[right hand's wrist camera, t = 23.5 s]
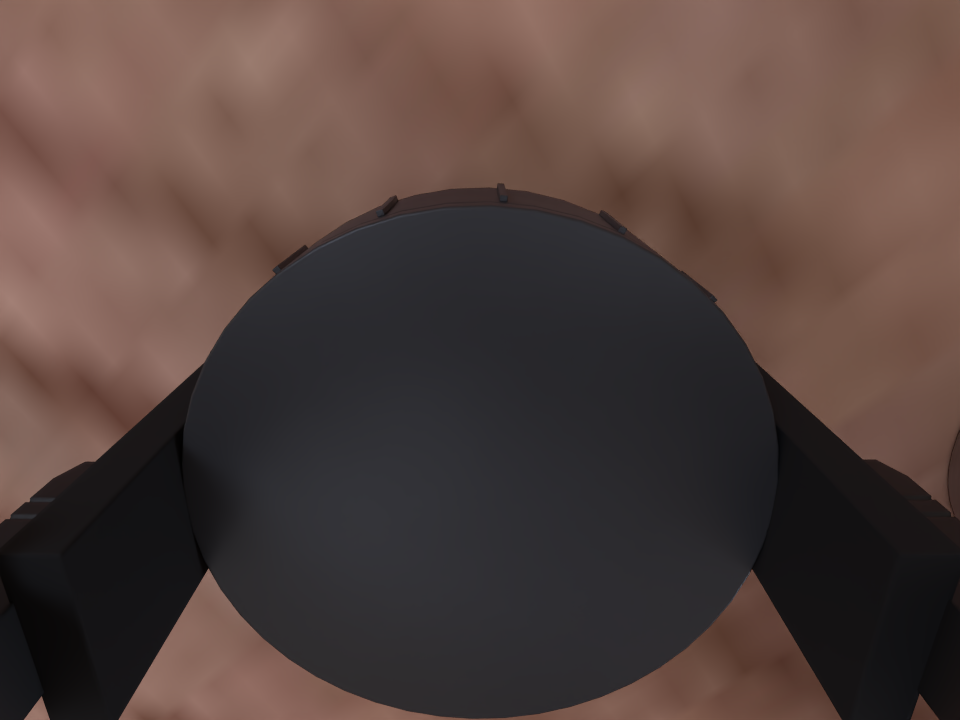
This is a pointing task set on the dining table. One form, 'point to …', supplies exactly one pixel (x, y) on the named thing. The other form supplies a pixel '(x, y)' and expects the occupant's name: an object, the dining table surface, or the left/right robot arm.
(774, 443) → the lid
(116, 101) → the dining table surface
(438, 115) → the dining table surface
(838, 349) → the dining table surface
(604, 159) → the dining table surface
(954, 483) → the jar
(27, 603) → the right robot arm
